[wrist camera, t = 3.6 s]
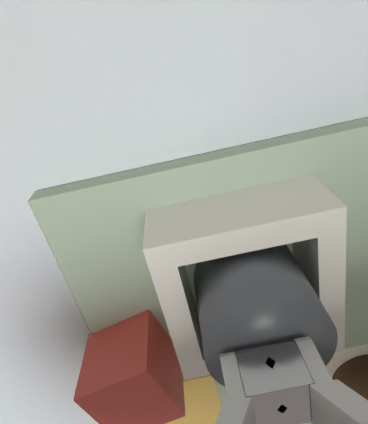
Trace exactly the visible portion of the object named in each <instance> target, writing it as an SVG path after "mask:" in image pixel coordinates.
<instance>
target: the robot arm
mask: <svg viewBox="0 0 368 424" xmlns="http://www.w3.org/2000/svg"><path fill="white" fill-rule="evenodd" d="M220 362H221V367H222V372H223V377H224V383H225V388H226V393H227V398H228V401H227V402H224V403H223V405H222V408H221V410H220V412H219V415H218V417H217V420H216V422H215V424H304V423H310V422H312V424H368V400H366V399H365V398H364V397H362V396H361V395H359V394H358V393H356V392H355V391H354V390H352V389H351V388H349V387H348V386H346V385H345V384H343V383H342V382H341V381H339V380H338V379H336V380H332V378H331V376H330V374H329V372H328V370H327V368H326V366H325V364H324V362H323V360H322V358H321V356H320V354H319V352H318V350H317V348H316V346H315V345H314V343H313V341H312V339H311V338H310V337H309V336H306V337H301V338H297V339H290V340H286V341H281V342H277V343H272V344H268V345H264V346H261V347H255V348H250V349H244V350H239V351H235V352H234V351H233V352H228V353H223V354H220Z"/></svg>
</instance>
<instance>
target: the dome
mask: <svg viewBox="0 0 368 424" xmlns="http://www.w3.org/2000/svg"><path fill="white" fill-rule="evenodd" d="M194 285H195V293H196V300H197V307H198V315H199V322H200V329H201V337H202V344H203V352H204V359H205V365H206V367H207V370H208V372H209V373H210V375H211V376H212V377H213V378H214V380H216V381H217V382H218V383H219V384H221V385H222V386H224V387H225V383H224V377H223V372H222V367H221V362H220V354H223V353H228V352H233V351H234V352H235V351H239V350H244V349H250V348H255V347H261V346H264V345H268V344H272V343H277V342H281V341H286V340H290V339H297V338H301V337H306V336H309V337H310V338H311V339H312V341H313V343H314V345H315V346H316V348H317V350H318V352H319V354H320V356H321V358H322V360H323V362H324V364H325V366H327V364H328V363H329V362H330V360H331V359H332V357H333V355H334V353H335V351H336V347H337V341H338V336H337V330H336V327H335V325H334V323H333V321H332V319H331V318H330V316H329V314H328V313H327V311H326V309H325V308H324V306H323V304H322V303H321V301H320V299H319V298H318V296H317V294H316V292H315V291H314V289H313V287H312V286H311V284H310V282H309V281H308V279H307V277H306V276H305V274H304V272H303V271H302V269H301V267H300V266H299V264H298V262H297V261H296V259H295V257H294V256H293V254H292V252H291V250H290V249H289V248H288V246H287V245H286V244H285V245H280V246H275V247H270V248H266V249H261V250H256V251H251V252H246V253H242V254H237V255H232V256H227V257H223V258H218V259H213V260H208V261H203V262H199V263H197V264H196V267H195V271H194Z"/></svg>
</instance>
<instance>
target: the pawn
mask: <svg viewBox="0 0 368 424" xmlns="http://www.w3.org/2000/svg"><path fill="white" fill-rule="evenodd" d="M336 379H338V380H339V381H341V382H342V383H343V384H345V385H346V386H348V387H349V388H351V389H352V390H354V391H355V392H356V393H358V394H359V395H361V396H362V397H364V398H365V399H366V400H368V354H366V355H361V356H357V357H354V358H352V359H350V360H348V361H346V362H345V363H343V364H342V365H341V366H339V367H338V369H337V370H336V371H335V372H334V374H333V377H332V380H336Z"/></svg>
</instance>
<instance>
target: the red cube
mask: <svg viewBox="0 0 368 424" xmlns="http://www.w3.org/2000/svg"><path fill="white" fill-rule="evenodd" d="M74 401H75V402H76V403H77V404H78V405H79V406H80V407H81V408H82V409H83V410H85V411H86V412H87V413H88V414H89V415H90V416H91V417H92V418H93V419H95V420H96V421H97V422H98V423H99V424H165V423H168V422H171V421H173V420H176V419H179V418H181V417H184V416H185V402H184V386H183V373H182V370H181V367H180V364H179V361H178V358H177V355H176V352H175V349H174V346H173V342H172V339H171V338H170V336H169V335H168V334H167V332H166V331H165V330H164V328H163V327H162V326H161V324H160V323H159V322H158V320H157V319H156V318H155V317H154V315H153V314H152V313H151V311H150V310H149V309H148V310H146V311H143V312H141V313H139V314H136V315H134V316H132V317H130V318H127V319H125V320H123V321H120V322H118V323H116V324H113V325H111V326H109V327H107V328H104V329H102V330H100V331H97V332H95V333H93V334H90V335H89V336H88V340H87V345H86V349H85V353H84V358H83V362H82V366H81V370H80V375H79V379H78V383H77V387H76V392H75V396H74Z"/></svg>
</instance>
